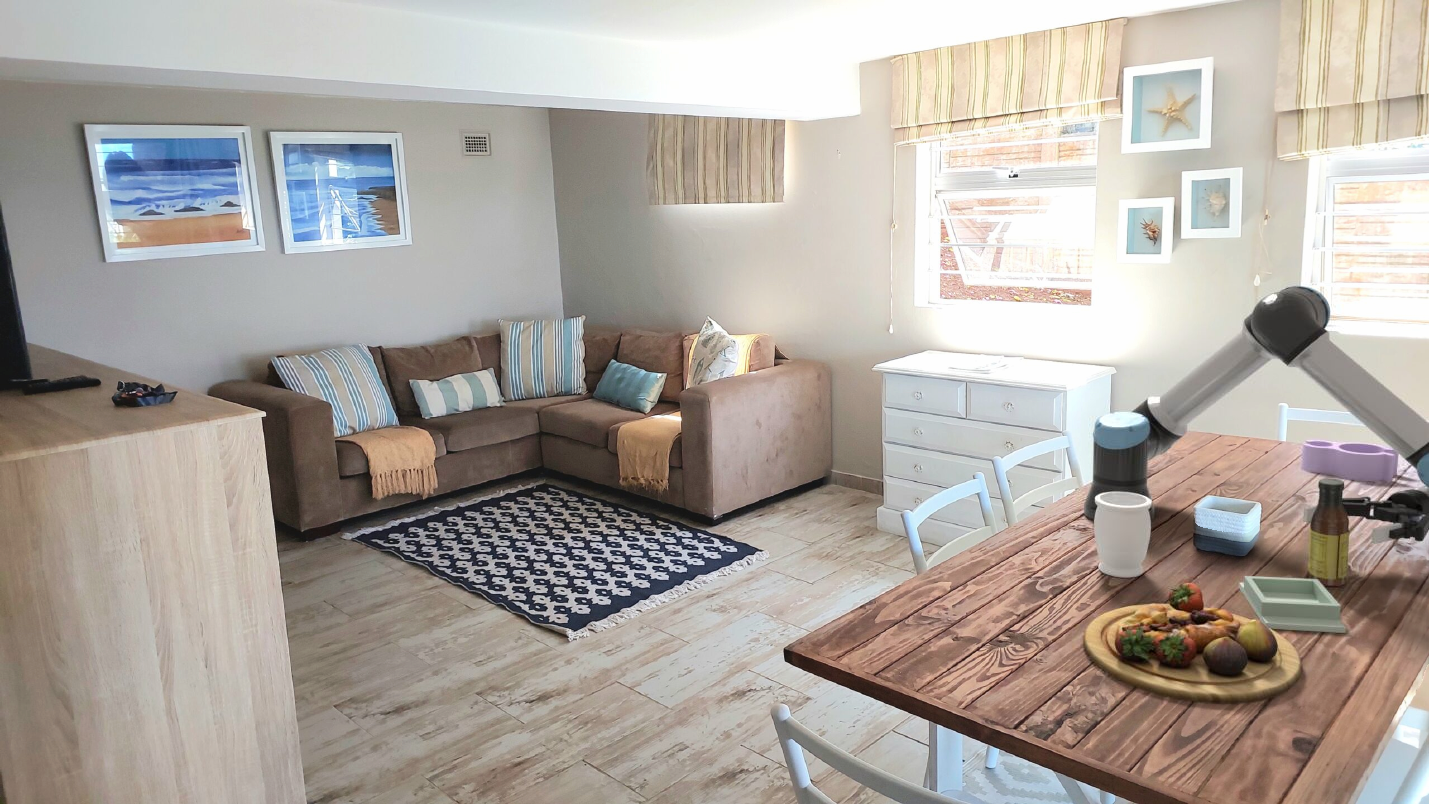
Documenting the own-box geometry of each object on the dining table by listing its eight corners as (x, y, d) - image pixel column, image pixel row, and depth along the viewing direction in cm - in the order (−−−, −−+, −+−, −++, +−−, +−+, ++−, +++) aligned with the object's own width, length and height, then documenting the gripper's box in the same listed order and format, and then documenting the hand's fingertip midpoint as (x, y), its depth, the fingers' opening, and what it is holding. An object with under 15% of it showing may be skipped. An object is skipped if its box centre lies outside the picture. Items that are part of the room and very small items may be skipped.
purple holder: (1296, 473, 249) (1298, 447, 248) (1308, 462, 258) (1309, 437, 257) (1390, 485, 236) (1392, 457, 234) (1398, 472, 245) (1400, 446, 243)
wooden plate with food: (1118, 601, 179) (1119, 559, 178) (1318, 641, 159) (1320, 594, 157) (1054, 672, 156) (1053, 625, 154) (1278, 730, 135) (1281, 677, 134)
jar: (1154, 581, 186) (1157, 507, 183) (1098, 580, 189) (1100, 506, 186) (1142, 561, 197) (1144, 490, 194) (1088, 560, 199) (1090, 490, 196)
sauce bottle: (1335, 574, 185) (1343, 475, 181) (1353, 587, 179) (1362, 485, 175) (1299, 575, 185) (1306, 476, 181) (1316, 588, 179) (1324, 485, 175)
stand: (1265, 628, 165) (1266, 609, 164) (1239, 587, 182) (1240, 569, 181) (1345, 632, 161) (1347, 613, 161) (1310, 590, 178) (1312, 572, 178)
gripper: (1357, 473, 198) (1280, 489, 191) (1489, 506, 175) (1407, 525, 168) (1354, 508, 200) (1278, 525, 193) (1484, 545, 177) (1403, 566, 170)
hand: (1338, 525), depth 180 cm, fingers open, 13 cm apart
